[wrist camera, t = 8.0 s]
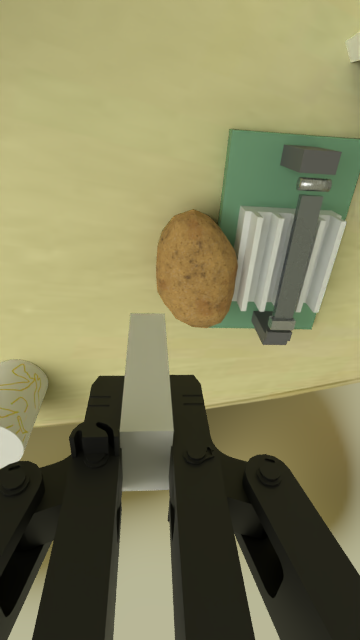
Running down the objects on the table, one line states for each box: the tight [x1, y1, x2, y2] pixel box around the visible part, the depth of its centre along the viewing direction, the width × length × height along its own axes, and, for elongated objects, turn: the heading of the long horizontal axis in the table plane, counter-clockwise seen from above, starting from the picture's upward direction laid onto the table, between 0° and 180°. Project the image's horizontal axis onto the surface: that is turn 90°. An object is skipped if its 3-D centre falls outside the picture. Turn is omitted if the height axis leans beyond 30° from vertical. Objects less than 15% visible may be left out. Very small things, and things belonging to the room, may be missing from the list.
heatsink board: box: [208, 129, 360, 345], centre depth 40 cm, size 24×15×8 cm, turn 176°
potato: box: [156, 209, 238, 328], centre depth 40 cm, size 10×14×8 cm
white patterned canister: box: [0, 359, 48, 468], centre depth 47 cm, size 8×8×12 cm
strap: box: [268, 177, 332, 330], centre depth 37 cm, size 17×3×1 cm, turn 176°
